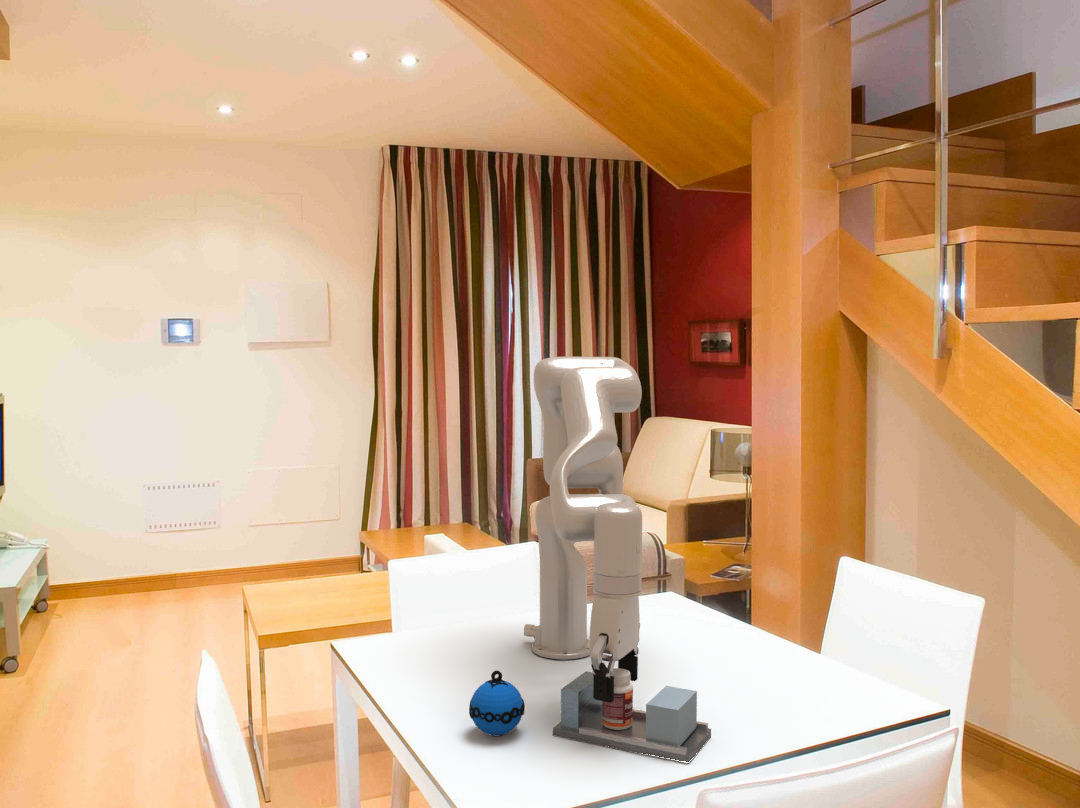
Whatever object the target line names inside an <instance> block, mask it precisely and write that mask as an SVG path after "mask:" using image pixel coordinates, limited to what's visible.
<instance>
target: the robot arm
mask: <svg viewBox="0 0 1080 808" xmlns="http://www.w3.org/2000/svg"><path fill="white" fill-rule="evenodd" d="M533 387H534V393H535V396H536V399H537V402H538V405H539V408H540V411H541V416H542V421H543V430H542V431H543V434H542V436H543V437H542V438H543V439H542V440H543V441H542V444H543V445H542V447H543V449H542V452H543V453H542V455H543V456H542V457H543V458H542V459H543V460H542V462H543V463H542V467H543V469H542V470H543V477H544V481H545V482H546V484H547V485H548V486H549V495H548V496H545V497H544V498H542V499H540V500H539V501H538V503H537V505H536V506H535V514H534V515H535V517H534V519H535V525H536V531H537V539H538V540H537V541H538V549H539V550H538V551H539V625H535V624H530V623H526V624H524V626H523V627H524V628H523V636H525V637H531V638H534V641H533V642H532V644H531V650H532V652H533V653H534V654H536V655H537V656H539V657H542V658H547V659H552V660H576V659H582V658H585V657H588V656H590V657H589V658H590V663H591V664H590V667H591V669H592V671H591V672H592V674H593V698H594V699H595V700H600V701H605V702H609V703H611V702H613V701H614V676H612V672H613V668H615V665H616V662H617V668H620V669H625V670H628V671H630V674H631V680H630V682H636V681H638V678H639V677H638V676H639V675H638V673H639V672H638V671H639V667H638V666H639V663H638V661H639V656H638V655H639V647H638V644H639V642H640V628H641V623H640V620H641V619H640V600H639V599H640V598H639V596H640V595H641V594H642V577H643V576H642V574H643V573H642V568H643V566H642V561H643V513H642V510H641V508H640V506H639V504H637V502H636V501H635V499H634V498H633V496H630V495H627V494H624V461H623V456H622V453H621V450H620V447H618V440H619V439H618V434H617V429H616V424H615V419H614V414H615V413H617V414H618V413H619V414H620V413H633V412H635V411H636V410H637V409H639V407H640V404H641V403H642V402H641V401H642V395H643V393H642V392H643V390H642V385H641V381H640V378H639V375H638V373H637V371H636V369H634V367H633V366H632V365H630V364H629V363H627V362H626V361H624V360H622V359H621V358H619V357H616V356H614V357H613V356H553V357H546V358H543V359H542V360H540V361H538V362H537V364H536V365H535V367H534V370H533ZM593 488H594V489H597V490H598V493H570V492H569V489H593ZM581 542H593V565H592V567H593V571H592V573H593V575H592V592H593V593H594V595H593V598H592V599H593V600H592V605H591V615H590V625H589V639H588V566H587V562H586V559H585V557H584V556H583V555H582V553H581V552H580V551H579V550H578V549H577V548H576V546H575V544H576V543H581ZM605 662H608V664H607V665H606V664H605Z"/></svg>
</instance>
